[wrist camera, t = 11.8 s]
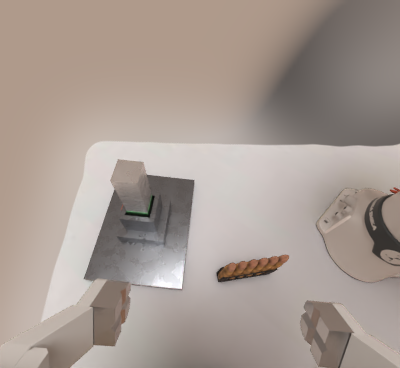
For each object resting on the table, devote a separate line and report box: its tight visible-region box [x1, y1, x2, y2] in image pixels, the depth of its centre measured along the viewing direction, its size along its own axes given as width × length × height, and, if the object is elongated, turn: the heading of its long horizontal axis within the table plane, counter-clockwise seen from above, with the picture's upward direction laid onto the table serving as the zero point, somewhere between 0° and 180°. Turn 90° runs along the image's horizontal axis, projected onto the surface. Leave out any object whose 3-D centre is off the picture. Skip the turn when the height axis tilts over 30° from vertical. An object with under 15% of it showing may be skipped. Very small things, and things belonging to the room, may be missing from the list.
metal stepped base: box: [84, 175, 194, 290], centre depth 42 cm, size 24×18×10 cm
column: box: [110, 159, 153, 218], centre depth 35 cm, size 4×4×14 cm
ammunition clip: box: [217, 255, 289, 282], centre depth 38 cm, size 11×2×12 cm, turn 99°
